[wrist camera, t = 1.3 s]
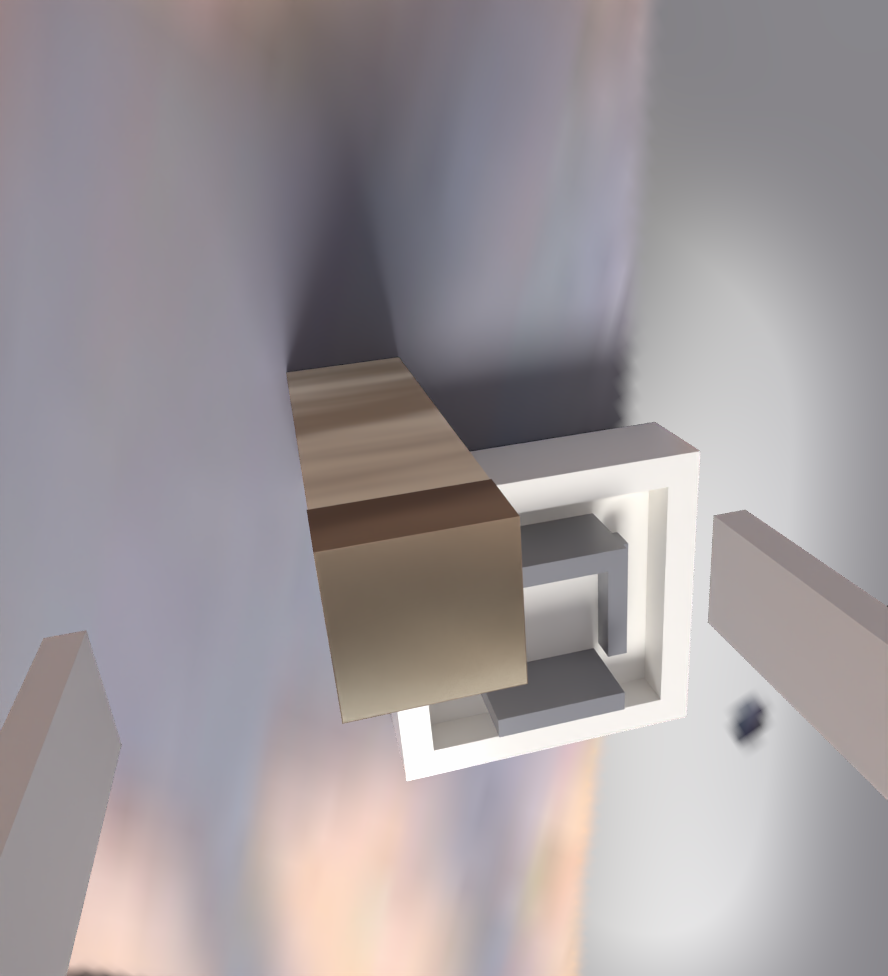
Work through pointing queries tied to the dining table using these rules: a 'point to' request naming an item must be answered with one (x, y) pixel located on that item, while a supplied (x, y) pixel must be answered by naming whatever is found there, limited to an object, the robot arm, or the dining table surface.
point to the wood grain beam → (405, 544)
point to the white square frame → (582, 599)
